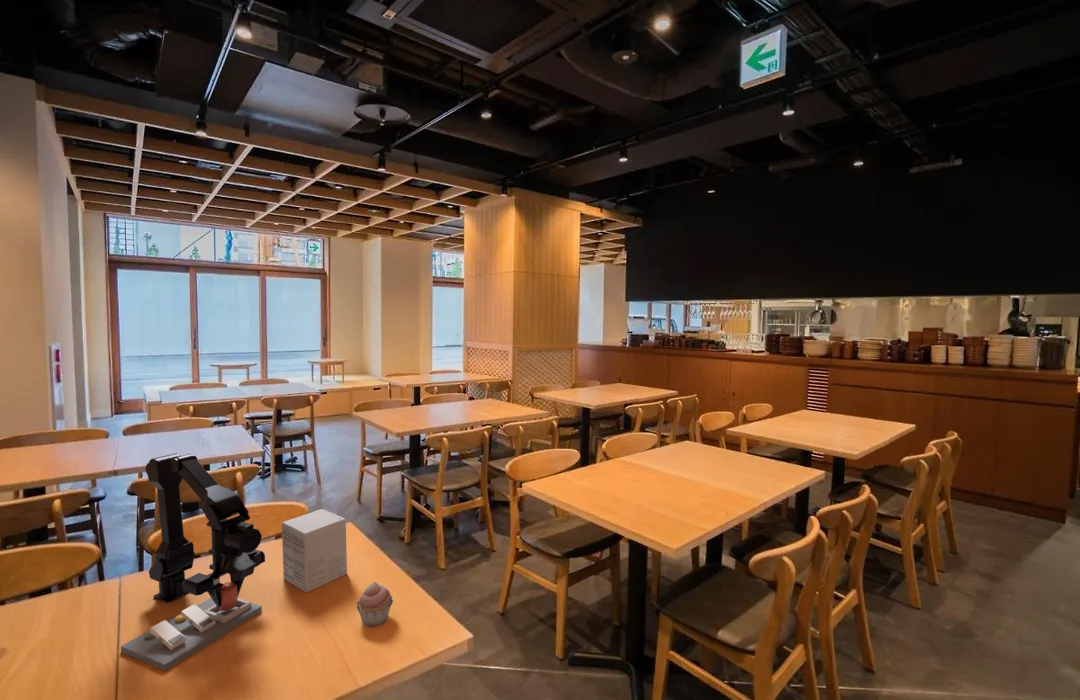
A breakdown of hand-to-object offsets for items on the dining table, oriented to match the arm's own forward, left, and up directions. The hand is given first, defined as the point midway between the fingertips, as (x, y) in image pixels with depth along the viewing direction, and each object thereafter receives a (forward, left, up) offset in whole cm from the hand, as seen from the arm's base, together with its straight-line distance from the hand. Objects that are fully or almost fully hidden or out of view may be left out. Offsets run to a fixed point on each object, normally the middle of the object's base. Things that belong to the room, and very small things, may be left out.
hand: (227, 601), depth 130 cm
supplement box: (+5, +24, -4) cm, 25 cm away
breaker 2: (-1, -7, 0) cm, 7 cm away
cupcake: (+36, +14, -4) cm, 39 cm away
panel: (-2, -7, -4) cm, 8 cm away
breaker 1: (-1, -14, 0) cm, 14 cm away
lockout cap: (0, 0, -1) cm, 1 cm away
